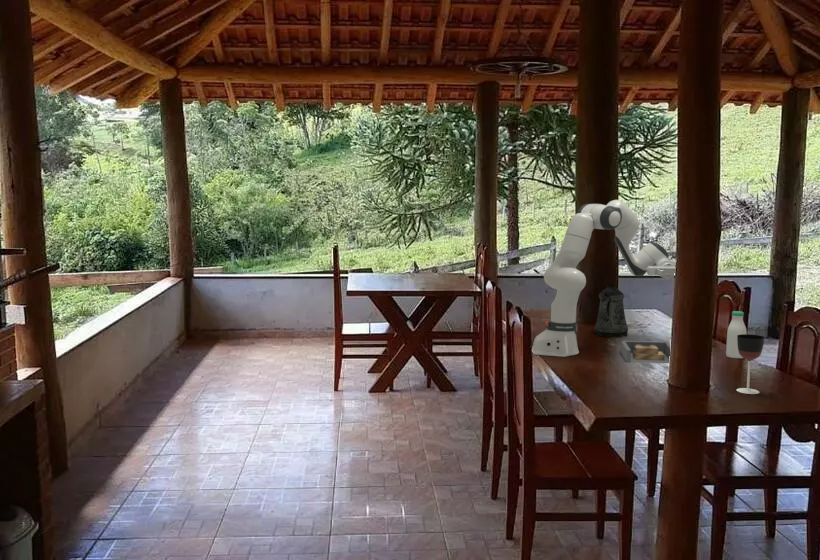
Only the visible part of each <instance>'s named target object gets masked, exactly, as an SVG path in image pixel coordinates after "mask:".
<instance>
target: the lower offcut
mask: <svg viewBox="0 0 820 560" xmlns="http://www.w3.org/2000/svg"><path fill="white" fill-rule="evenodd" d="M633 358H634V359H636V360H664V358H665V355H664V353H663V352H658V354H636V353H635V352H634V351H633Z"/></svg>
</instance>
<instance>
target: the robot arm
mask: <svg viewBox="0 0 820 560" xmlns="http://www.w3.org/2000/svg"><path fill="white" fill-rule="evenodd" d="M639 227H640V220H639V219H638V217H637V216H636V214H635V213H634V211H633V210H632V209H631V208H630V207H629V206H628V205H627V204H626V203H624V202H623V201H621V200H620V199H614V200H610V201H608V203H607V204H602V203H586V204H583V205H581V206H580V207H579V209H578V210H577V213H575V214H574V215H573V216H572V218H571V220H570V222H569V223H568V226H567V229H566V231H565V234H564V236H563V237H564V238H563V240H562V244H561V245H560V249H559V251H558V253H557V255H556V257H555V258H554V260H553V262H552V263H551V264H550V266H549V267H547V268H546V269H545V271H544V273H543V280H544V282H545V284H546V285H547V286H548V287H550V288H552V289H554V290H556V294H555V298H554V300H553V301H552V302H551V305H550V320H549V319H548V320H546V321H545V322H544V323H545V326H546V327H545V329H544V330H543V331H542V332H540V333H539V334H537V335H536V336H535V338H534V340H533V343H532V350H533V354H532V355H535V356H536V355H537V356H548V357H549V356H550V357H562V358H563V357H564V358H565V357H569V356H575V355H578V354H579V353H580V351H579V347H578V341H577V340H578V339H577V333H578V322H577V306H578V301H579V297H580V294H581V292H582V290H583V289H584V288H585V287H586V284H587V278H586V275H585V273H584V272H582V271H581V270H579V269H577V266H578V265H579V263H580V262H581V261H582V260H583V259H584V258H585V257H586V254H587V250H588V247H589V244H590V240H591V238H592V233H593V231H594V229H595V230H606V231H610V230H611V231H612V230H614V232H615V235H614V242H615V245H616V246H617V250H618V251H619V253H620V254H621V256H622V259H623V260H624V262H625V265H626V267H627V270H628V271H629V273H631V274H632V275H633V276H634V277H643V276H644V275H645V274H647V276H659V277H661V278H663V279H665V280H671V279H675V278H674V273H675V262H676V261H675V260H671V259H669V253H668V251H667V250H666V249H665V248H664V247H663V246H662V245H661V244H659V243H658V242H653V241H651V242H648V243H647V244H646V245H645V246H643V247H642V249H640V250H639V251H638V252H637V253H636V254H634V255H633V254H632V252H631V250H630V244H631V242H632V241H633V239H634V237H635V235H636V234H637V233H638V231H639Z"/></svg>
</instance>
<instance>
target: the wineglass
mask: <svg viewBox="0 0 820 560" xmlns="http://www.w3.org/2000/svg"><path fill="white" fill-rule="evenodd" d="M737 344H738V351H739V354H740V355H741V356H742V357H743V358H742V359H745V360H747V374H746V375H747V377H746V388H745V387H740V388H739V387H738V388H737V389H736V391H737V392H738V393H742V394H749V395H757V394H760V391H759V390H757V389H753V388H750V382H751V381H750V379H751V377H750V376H751V361H753V360H756V359H758V358H759V357H760V356H761V355H762V352H763V348H764V345H765V336H762V335H758V334H742V335H737Z"/></svg>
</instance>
